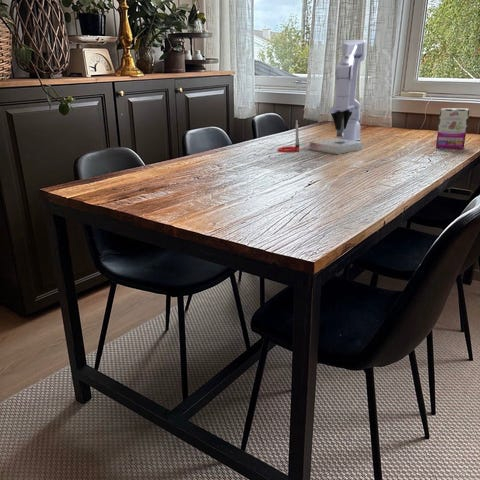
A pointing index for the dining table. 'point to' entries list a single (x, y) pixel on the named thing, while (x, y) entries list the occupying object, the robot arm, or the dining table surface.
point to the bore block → (336, 145)
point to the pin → (341, 132)
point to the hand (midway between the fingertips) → (340, 129)
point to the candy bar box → (452, 128)
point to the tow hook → (295, 144)
